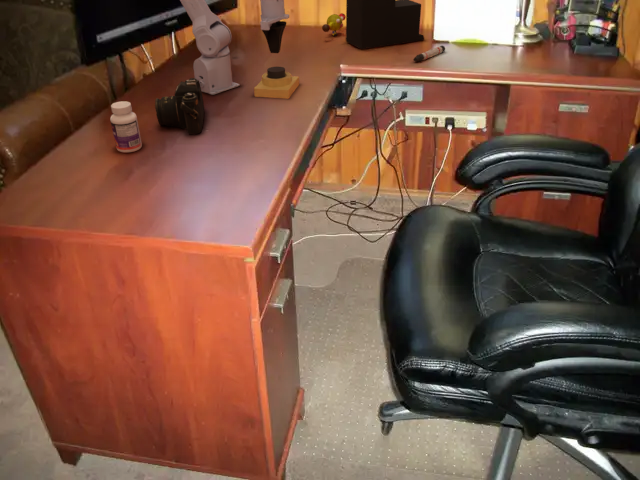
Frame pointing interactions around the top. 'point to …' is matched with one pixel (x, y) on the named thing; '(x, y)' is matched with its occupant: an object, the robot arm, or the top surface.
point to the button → (276, 72)
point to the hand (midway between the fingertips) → (275, 52)
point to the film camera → (182, 107)
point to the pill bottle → (125, 127)
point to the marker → (429, 53)
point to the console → (276, 86)
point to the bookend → (382, 22)
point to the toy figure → (334, 23)
